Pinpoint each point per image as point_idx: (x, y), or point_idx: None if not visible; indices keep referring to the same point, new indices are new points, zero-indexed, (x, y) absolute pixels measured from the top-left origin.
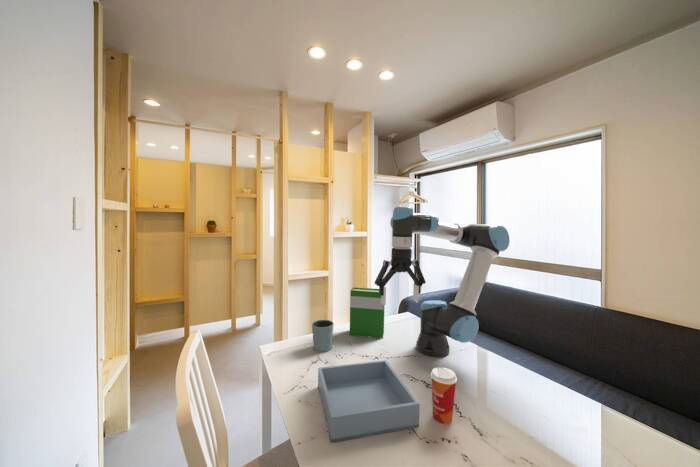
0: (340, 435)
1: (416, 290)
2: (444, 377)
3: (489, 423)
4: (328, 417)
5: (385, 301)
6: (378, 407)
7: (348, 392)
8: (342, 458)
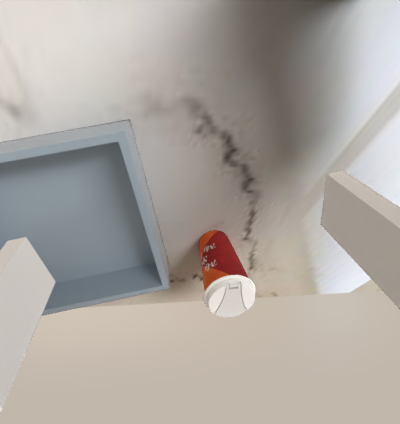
0: None
1: (396, 296)
2: (224, 314)
3: (277, 250)
4: None
5: (45, 303)
6: (102, 233)
7: (30, 191)
8: None
